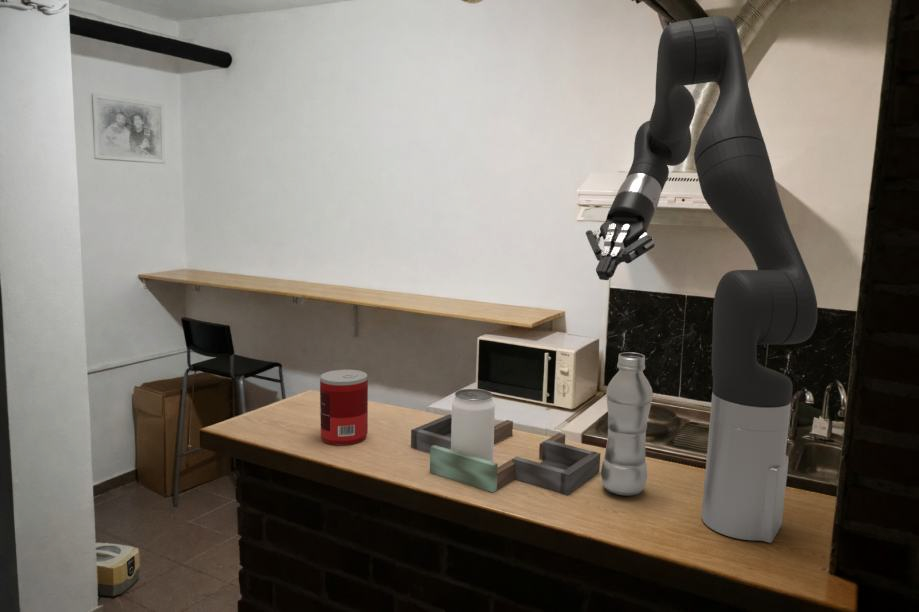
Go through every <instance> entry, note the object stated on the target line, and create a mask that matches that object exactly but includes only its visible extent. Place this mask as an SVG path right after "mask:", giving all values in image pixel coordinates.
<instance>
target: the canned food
mask: <svg viewBox="0 0 919 612" xmlns="http://www.w3.org/2000/svg"><path fill="white" fill-rule="evenodd" d="M319 377H320V379H319V395H320V396H319V400H320V401H319V403H320V405H319V410H320V411H319V412H320V413H319V414H320V438H321V439H322V441H323V443H326V444H328V445H331V446H332V445H333V446H349V445H350V446H351V445H355V444H359V443H362V442H364V440H366V438H367V435H368V431H369V430H368V424H369V422H368V420H369V419H368V417H369V416H368V415H369V414H368V412H369V410H368V409H369V408H368V407H369V400H368V399H369V394H368V393H369V383H368V382H369V381H368V380H369V378H368V374H367V372H364V371H362V370H358V369H357V370H356V369H335V370H330V371H329V370H328V371H327V372H323V373H322V374H321V375H320V376H319Z"/></svg>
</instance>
